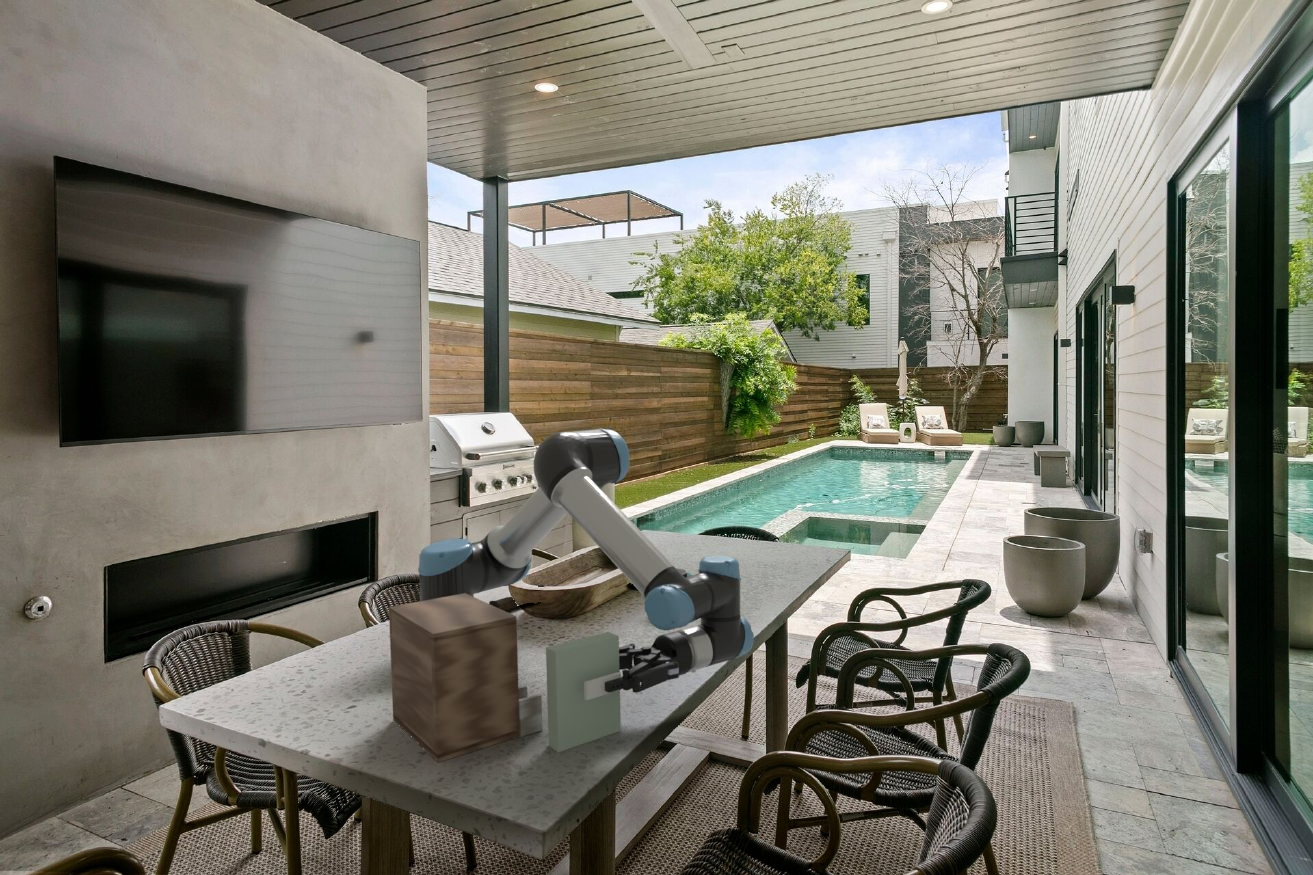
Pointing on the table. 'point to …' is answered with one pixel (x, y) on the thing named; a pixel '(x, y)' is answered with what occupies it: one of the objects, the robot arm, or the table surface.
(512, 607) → the hand tool
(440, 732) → the cabinet
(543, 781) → the table surface
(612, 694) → the cabinet door
